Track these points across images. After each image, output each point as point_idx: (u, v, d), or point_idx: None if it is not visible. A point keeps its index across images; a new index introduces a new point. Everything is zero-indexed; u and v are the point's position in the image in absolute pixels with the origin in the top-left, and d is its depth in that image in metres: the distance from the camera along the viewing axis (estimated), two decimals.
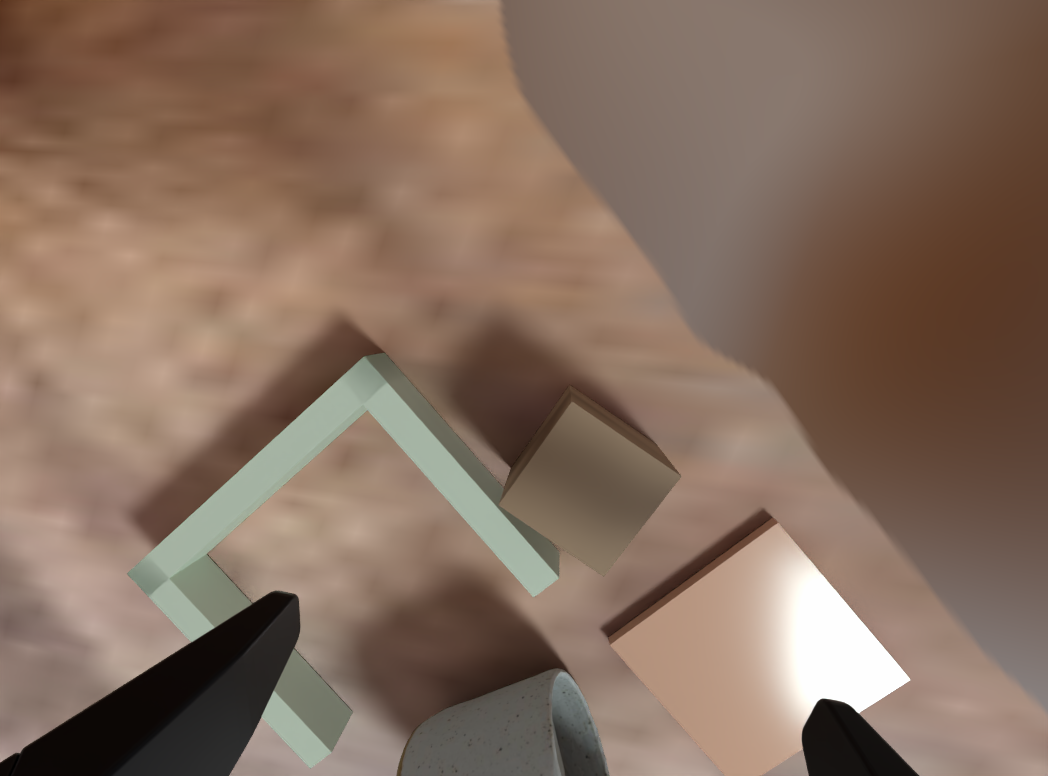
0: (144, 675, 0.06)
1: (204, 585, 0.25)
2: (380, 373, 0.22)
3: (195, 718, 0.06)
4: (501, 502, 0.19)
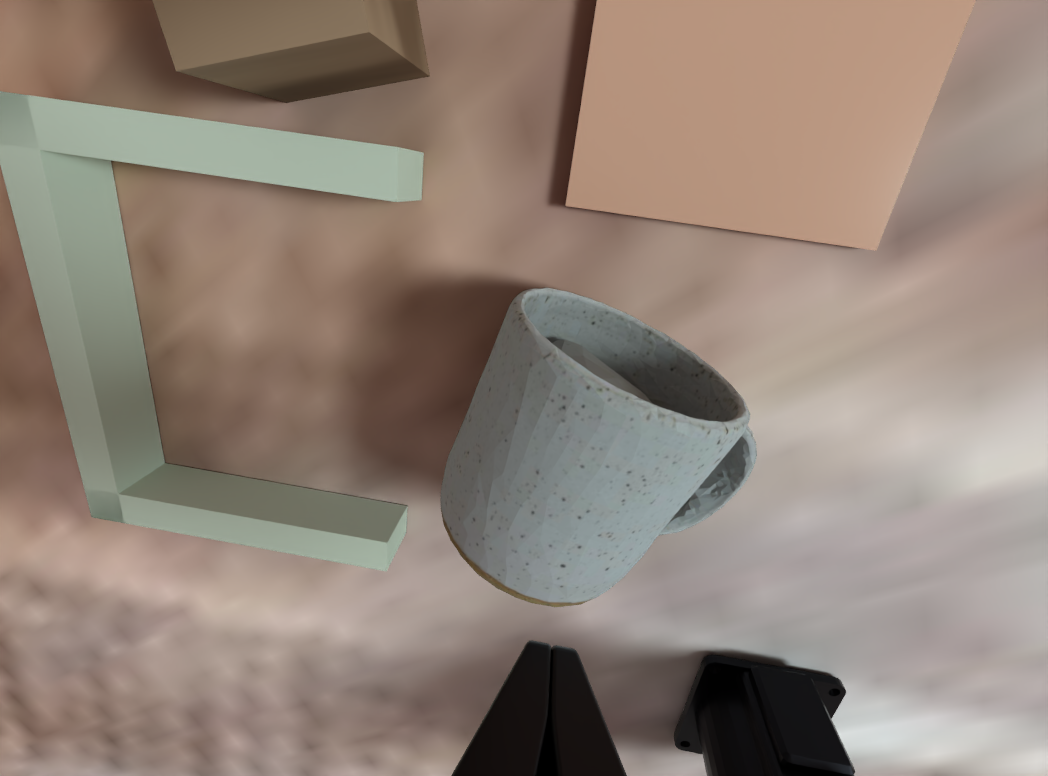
0: (476, 744, 0.06)
1: (168, 484, 0.21)
2: (17, 94, 0.15)
3: None
4: (174, 62, 0.12)
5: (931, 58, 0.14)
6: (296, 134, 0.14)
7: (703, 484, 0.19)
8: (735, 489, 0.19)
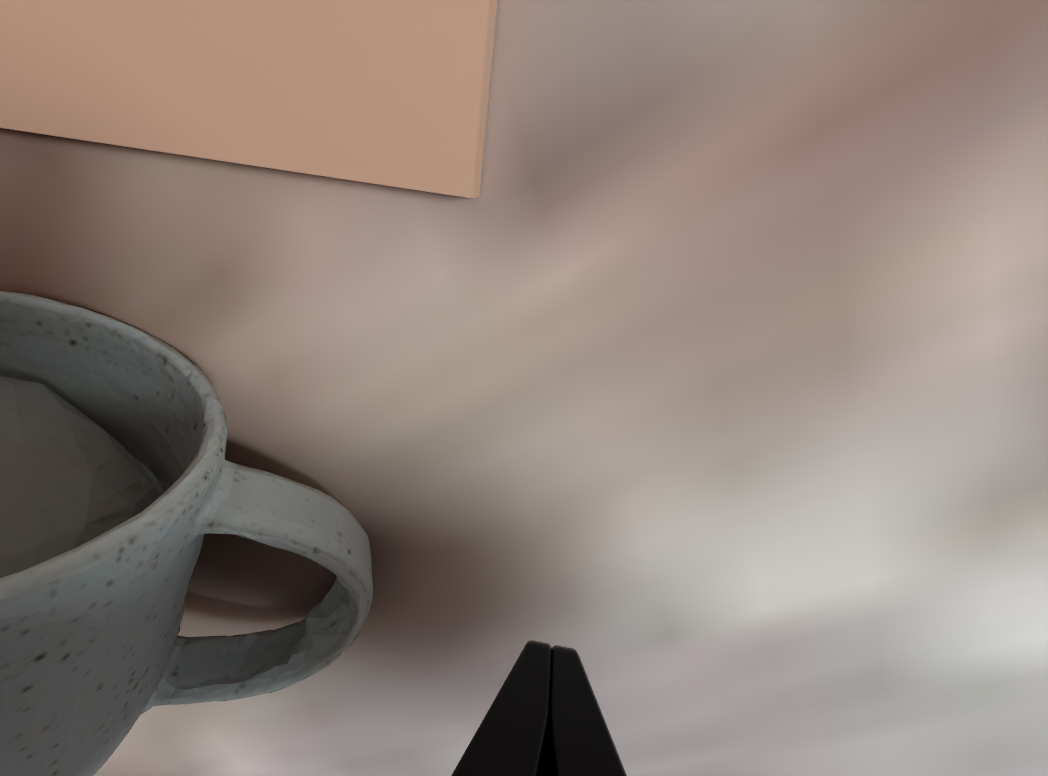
0: (476, 744, 0.06)
1: None
2: None
3: None
4: None
5: None
6: None
7: (324, 609, 0.12)
8: (353, 627, 0.11)
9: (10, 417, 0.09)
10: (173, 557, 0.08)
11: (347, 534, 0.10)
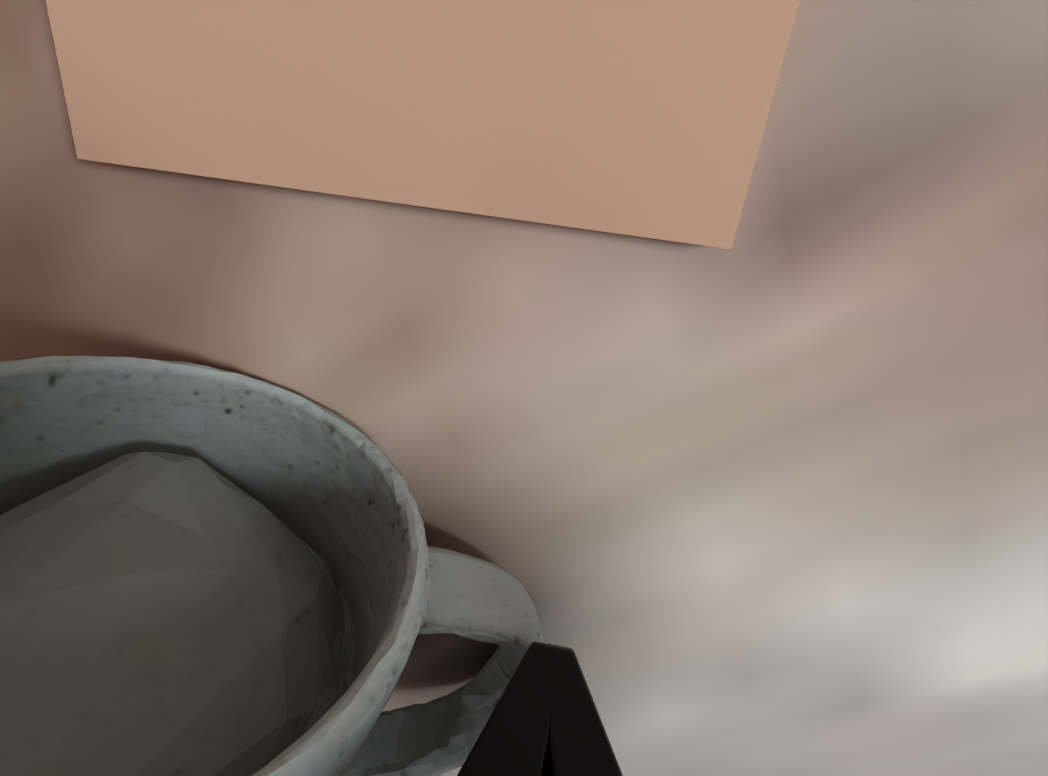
0: (480, 744, 0.06)
1: None
2: None
3: None
4: None
5: None
6: None
7: (484, 686, 0.11)
8: None
9: (185, 504, 0.08)
10: None
11: (530, 613, 0.09)
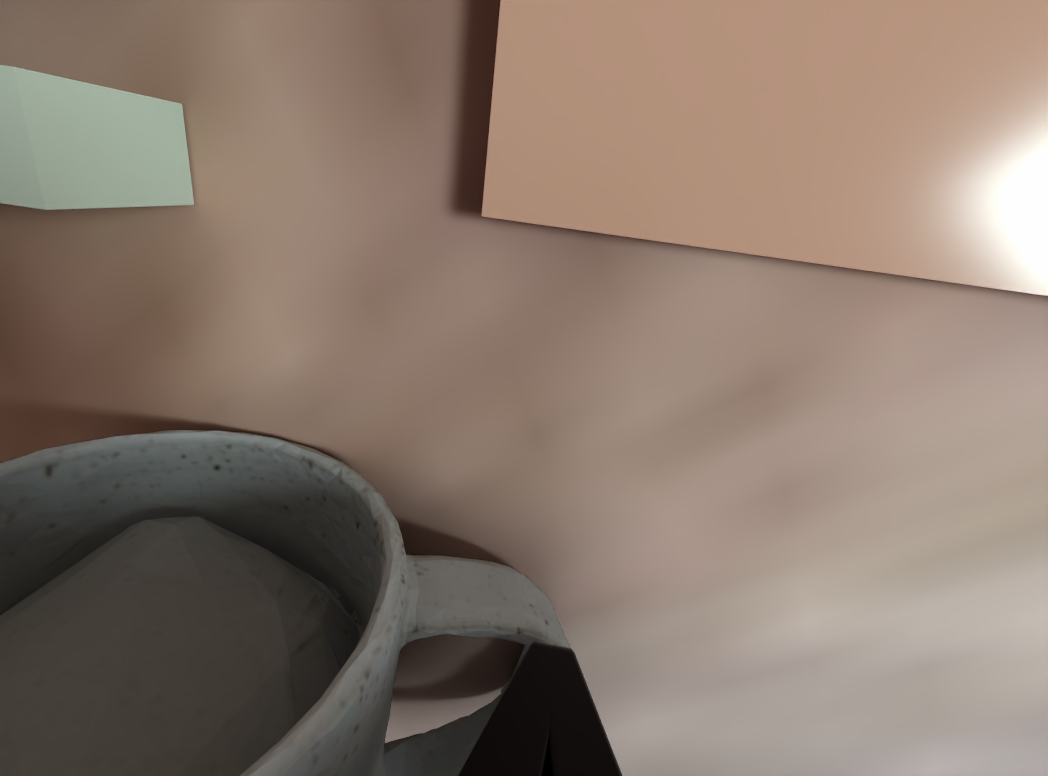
0: (481, 744, 0.06)
1: None
2: None
3: None
4: None
5: None
6: None
7: None
8: None
9: (184, 560, 0.08)
10: (391, 676, 0.07)
11: (536, 603, 0.09)
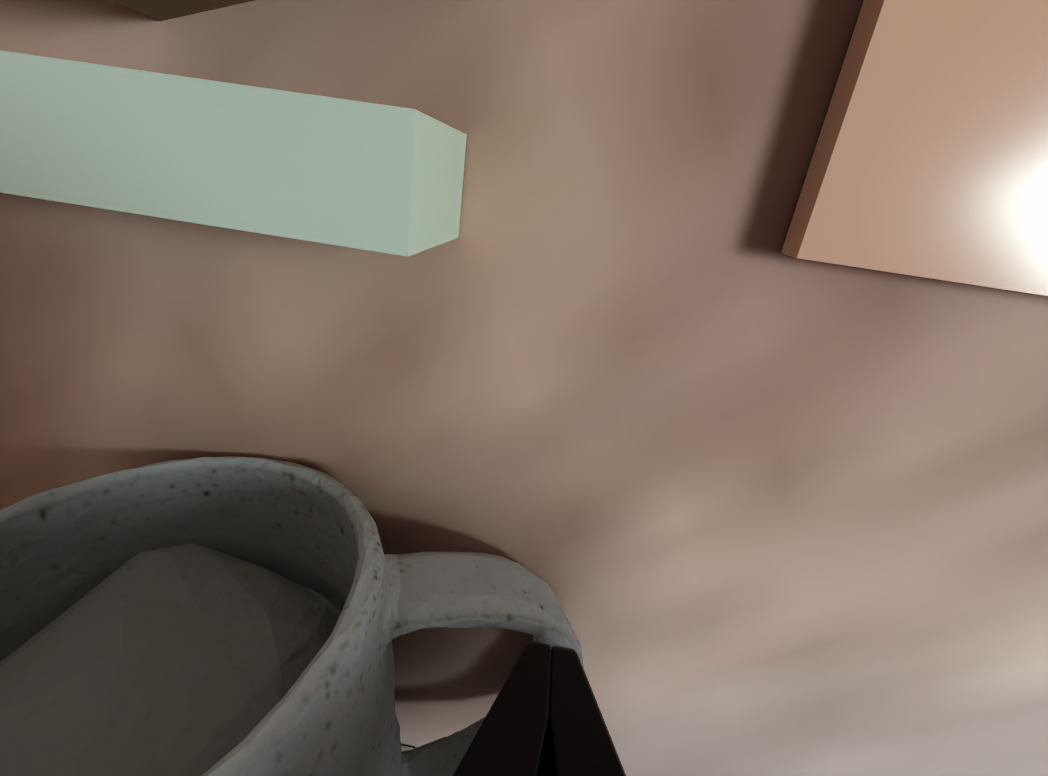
0: (476, 744, 0.06)
1: None
2: None
3: None
4: None
5: None
6: (135, 74, 0.05)
7: None
8: None
9: (178, 584, 0.09)
10: (375, 673, 0.07)
11: (531, 589, 0.09)
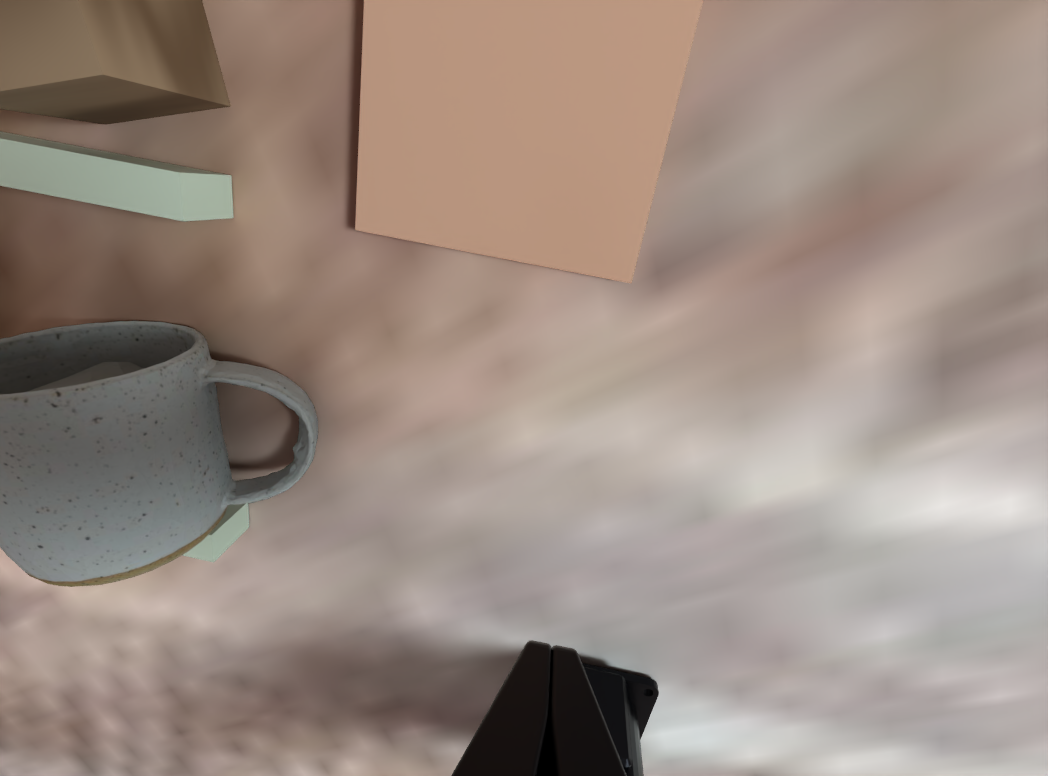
0: (476, 743, 0.06)
1: None
2: None
3: None
4: None
5: (655, 115, 0.15)
6: (89, 156, 0.16)
7: (299, 440, 0.21)
8: (308, 435, 0.20)
9: (118, 370, 0.19)
10: (192, 390, 0.18)
11: (283, 382, 0.20)
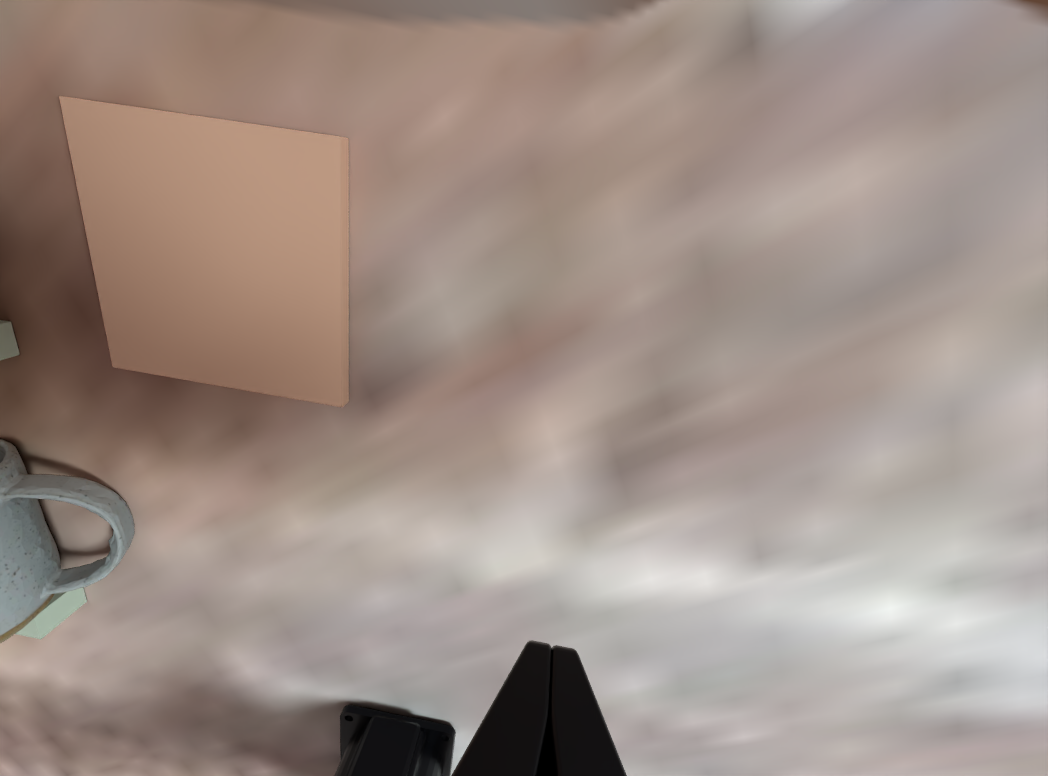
0: (476, 744, 0.06)
1: None
2: None
3: None
4: None
5: (327, 279, 0.18)
6: None
7: (113, 534, 0.24)
8: (114, 533, 0.23)
9: None
10: None
11: (87, 490, 0.23)
